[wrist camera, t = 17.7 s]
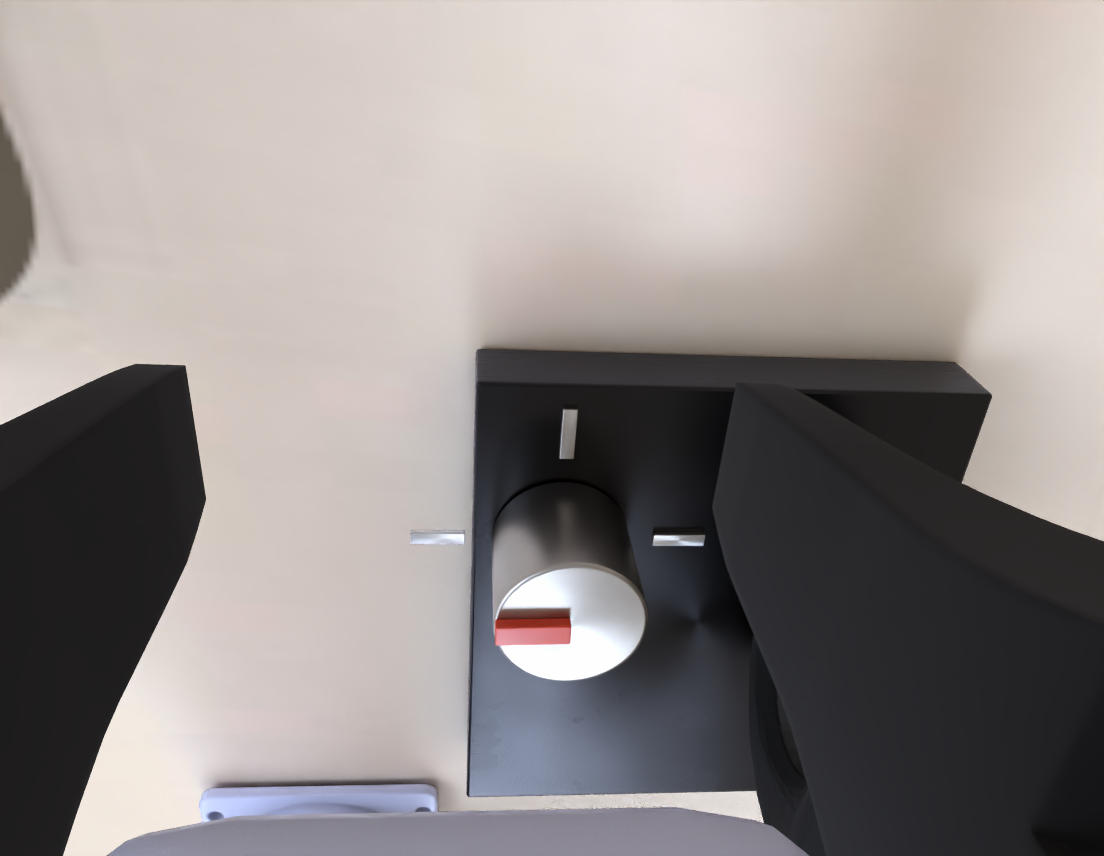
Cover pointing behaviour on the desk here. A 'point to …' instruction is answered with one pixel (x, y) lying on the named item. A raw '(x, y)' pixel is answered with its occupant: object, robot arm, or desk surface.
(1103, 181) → the desk surface
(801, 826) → the controller
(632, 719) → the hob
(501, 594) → the knob
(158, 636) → the desk surface
